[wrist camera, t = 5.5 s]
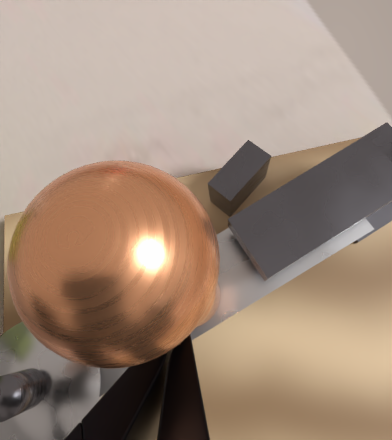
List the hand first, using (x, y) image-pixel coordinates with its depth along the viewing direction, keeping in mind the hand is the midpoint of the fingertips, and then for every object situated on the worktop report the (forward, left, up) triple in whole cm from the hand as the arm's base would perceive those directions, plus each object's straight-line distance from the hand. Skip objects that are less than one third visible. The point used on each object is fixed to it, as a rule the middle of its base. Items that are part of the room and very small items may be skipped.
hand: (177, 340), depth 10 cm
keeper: (+6, -7, -5) cm, 10 cm away
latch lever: (+1, 0, -4) cm, 5 cm away
